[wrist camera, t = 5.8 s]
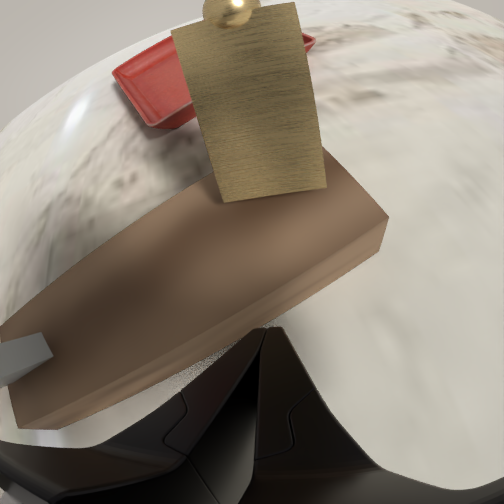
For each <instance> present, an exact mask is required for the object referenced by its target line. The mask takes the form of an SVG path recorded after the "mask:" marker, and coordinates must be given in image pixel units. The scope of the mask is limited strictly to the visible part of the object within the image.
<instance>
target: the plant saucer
mask: <svg viewBox="0 0 504 504" xmlns="http://www.w3.org/2000/svg"><path fill="white" fill-rule="evenodd" d="M202 21H203V20H202ZM302 37H303V41H304V46H305V51H306V53H307V52H308V51H309V50H310V48H311V47H312V46H313V45H314V43H315V42H316V39H315V38H314V37H312V36H309V35H307V34H304V33H302ZM112 75H113V76H114V78H115V79H116V81H117V82H118V84H119V85H120V87H121V89H122V90H123V91H124V93H125V94H126V95H127V97H128V98H129V100H130V101H131V103H132V104H133V106H134V107H135V109H136V110H137V111H138V113H139V114H140V116H141V117H142V119H143V120H144V122H145V123H146V124H147V125H148V126H150V127H153V128H159V129H174V128H178V127H180V126H181V125H183V124H185V123H186V122H188V121H189V120H191V119H193V118H194V117H196V113H195V110H194V106H193V103H192V100H191V97H190V93H189V90H188V87H187V84H186V80H185V77H184V74H183V71H182V67H181V64H180V61H179V58H178V54H177V51H176V48H175V44H174V41H173V38H172V35H171V36H169V37H167V38H166V39H164V40H162V41H160V42H158V43H156V44H155V45H153V46H151V47H149V48H148V49H146V50H144V51H142V52H141V53H139V54H137V55H136V56H134V57H133V58H131V59H129V60H128V61H126V62H125V63H123V64H121V65H120V66H118V67H117V68H116V69H114V70H113V71H112Z"/></svg>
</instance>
